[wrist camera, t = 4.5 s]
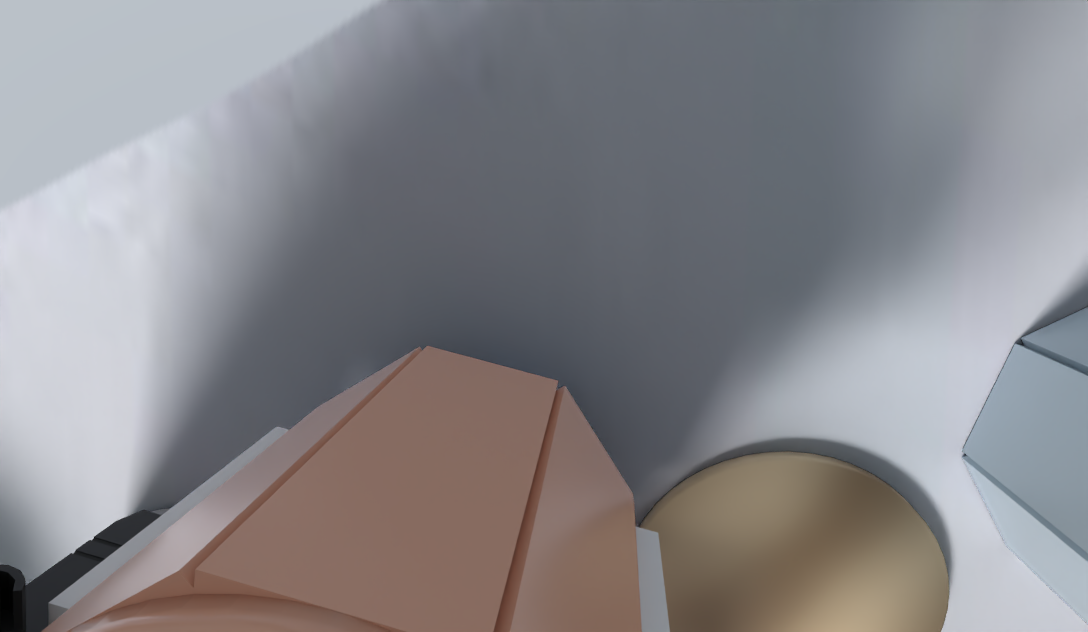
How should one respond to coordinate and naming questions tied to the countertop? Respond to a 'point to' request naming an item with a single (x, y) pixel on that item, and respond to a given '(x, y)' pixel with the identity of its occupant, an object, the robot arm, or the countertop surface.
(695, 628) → the coaster
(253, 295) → the countertop surface
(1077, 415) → the grey domed faceted canister
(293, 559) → the peach domed octagonal part
